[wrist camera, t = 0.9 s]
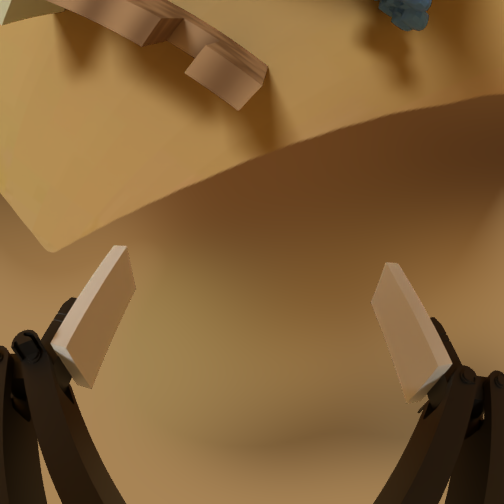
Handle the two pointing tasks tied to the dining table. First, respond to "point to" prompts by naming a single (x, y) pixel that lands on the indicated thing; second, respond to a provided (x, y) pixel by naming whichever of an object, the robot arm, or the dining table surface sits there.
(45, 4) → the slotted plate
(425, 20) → the grapes
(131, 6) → the slotted board
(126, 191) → the dining table surface
